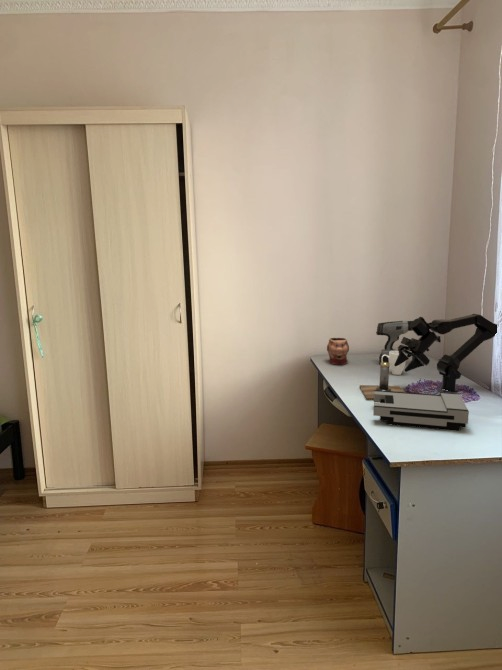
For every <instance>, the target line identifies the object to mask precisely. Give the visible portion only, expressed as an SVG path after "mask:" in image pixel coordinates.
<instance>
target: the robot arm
mask: <svg viewBox="0 0 502 670" xmlns="http://www.w3.org/2000/svg"><path fill="white" fill-rule="evenodd" d="M411 321H412V322H411V323H410V325H409V327H410V328H411V329H412V330H413V333H414V334H415V335H416V336H417V337H419V338H418V339H416V338H414V337H412V338H408V337H406V336H402V339H401V341H400V344H399V345H398V347H397V351H399V355H398V358H397V360H396V362H395V364H394V366H398V365H400V364H401V363H403V362H405V361H406V362H407V361H408V360H409V359H410V358H411V360H410V362H409V363H408V364H407V366H406V367H404V369H403V370H404V372H406V373H407V372H410V371H412V370H414V369H418V368H420V367H424V366H428V365H429V364H430V359H429V357H428V356H427V355H426V354H425V352H429V351H430V349H429V348H430V347H431V346H432V345H433V344H434V343H435V342H436V343H438V344H439V343H440V344H441V336H439V335H446V334H448V333H450V332H452V331H453V330H455V329H458V328H463V327H467V326H472V325H474V326H475V328H476V329H475V331H474V334H473V335H472V336H471V337H470V338H468V340H467V341H465V342H464V343H463V344H462V345H461V346H459V348H457V349H456V350H455V352H453V353H452V354H450V355H448V354H444V355H442V357H441V358H440V359H438V361H437V363H436V370H437V371H438V373H439V375H440V376H442V379H441V382H442V383H441V385H439V386H438V387H440V388H439V389H440V390H442V389H445V390H448V391H447V392H459V390H458V389H457V388H456V386H457V380H458V379H461V376H462V374H461V372H460V371H459V368H460V364H461V363H462V362H463V361H464V360H465V359H466V358H467V357H468V356H469V355H470V354H471V353H472V352H474V351H475V350H476V349H477V348H478V347H479V346H480V345H481V344H482V343H483V342H485V341H489V340H491V339H493V338H494V337H496V336H495V334H496V333H497V325H498V324H497V323H495V322H494V323H493V322H492V321H490V320H488V319H487V318H485V317H484V316H483V315H481V314H478V313H471V314H468V315H465V316H459V317H456V318H452V319H440V318H439V319H433V320H432V321H431V322H428V321H426V319H425V318H424V317H423V316H419V317H418V318H415V319H413V320H411ZM437 334H438V335H437Z"/></svg>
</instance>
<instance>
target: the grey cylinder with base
mask: <svg viewBox="0 0 502 670" xmlns="http://www.w3.org/2000/svg"><path fill="white" fill-rule="evenodd" d="M389 365H390V363H388V362H381V364H379V368H380V369H379V387H377V388H376V390H379V391H391V388H388V386H389V381H390V379H389V378H390V369H389V368H390V366H389Z"/></svg>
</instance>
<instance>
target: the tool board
mask: <svg viewBox="0 0 502 670" xmlns="http://www.w3.org/2000/svg"><path fill="white" fill-rule="evenodd" d="M377 387H379V385H378V384H377V385H374V384H373V385H371V384H370V385H369V384H368V385H367V384H364V385H363V384H362V385H361V384H360V385H359V390H360V391H361V393H362V395H363V397H364V399H365V401H374V390H376V388H377ZM388 388H391V391H392V392H405V390H403V389H402V387H401V386H400V385H388Z"/></svg>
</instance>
